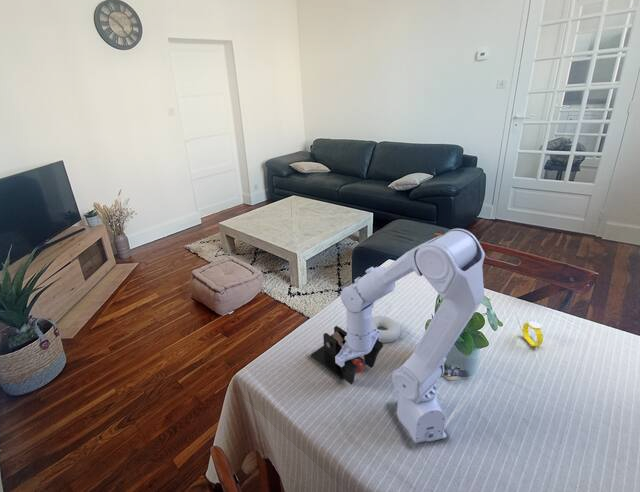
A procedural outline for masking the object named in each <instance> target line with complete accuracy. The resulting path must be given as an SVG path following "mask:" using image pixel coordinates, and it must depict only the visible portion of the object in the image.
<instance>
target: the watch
mask: <svg viewBox="0 0 640 492" xmlns="http://www.w3.org/2000/svg"><path fill="white" fill-rule="evenodd" d="M529 328H530V329H532V330H534V332H535V335H536V341H534V340H533V339H532V338H531V336H530V333H529ZM521 329H522V335H523V339H524V340H526V342H527V343H528V344H529V345H530V346H531V347H540V346H542V345H543V342H544V336H543V331H542V324H541V323H539V322H537V321H533V320H530V321H527V322H525V323H524V324H523V326H522V328H521Z"/></svg>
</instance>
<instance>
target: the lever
mask: <svg viewBox="0 0 640 492" xmlns="http://www.w3.org/2000/svg"><path fill="white" fill-rule="evenodd" d="M330 336H332V337H333V338H335V339H336V340H337V341H338V347H339V348H340V349H342V347H343V346H344V344H343V343H342V342H343V341H344V339H343V338H342V336H341V335H340V334H339V333H338V332H335V333H334V332H333V333H332V334H330ZM351 360H352V362H353V363H354V364H356V365H357V366H358V367H357V368H356V371H355V374H360V373H363V372H364V369H365V362H362V361H361V360H360V359H355V358H353V359H351Z"/></svg>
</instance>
